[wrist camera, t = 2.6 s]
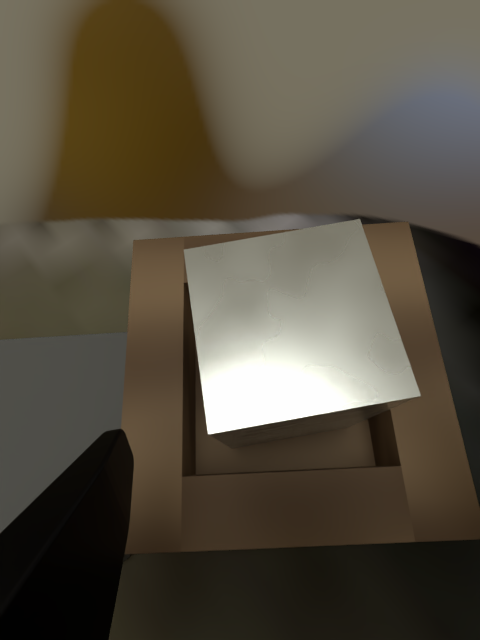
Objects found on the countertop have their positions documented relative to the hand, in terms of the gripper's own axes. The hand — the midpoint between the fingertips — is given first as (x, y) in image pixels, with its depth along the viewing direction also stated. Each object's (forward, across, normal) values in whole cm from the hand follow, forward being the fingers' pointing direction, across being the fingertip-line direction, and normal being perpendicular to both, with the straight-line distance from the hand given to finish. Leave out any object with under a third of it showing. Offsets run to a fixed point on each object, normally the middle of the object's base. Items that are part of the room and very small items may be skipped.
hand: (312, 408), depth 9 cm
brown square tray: (+8, 0, +5) cm, 10 cm away
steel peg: (+7, 0, +4) cm, 8 cm away
